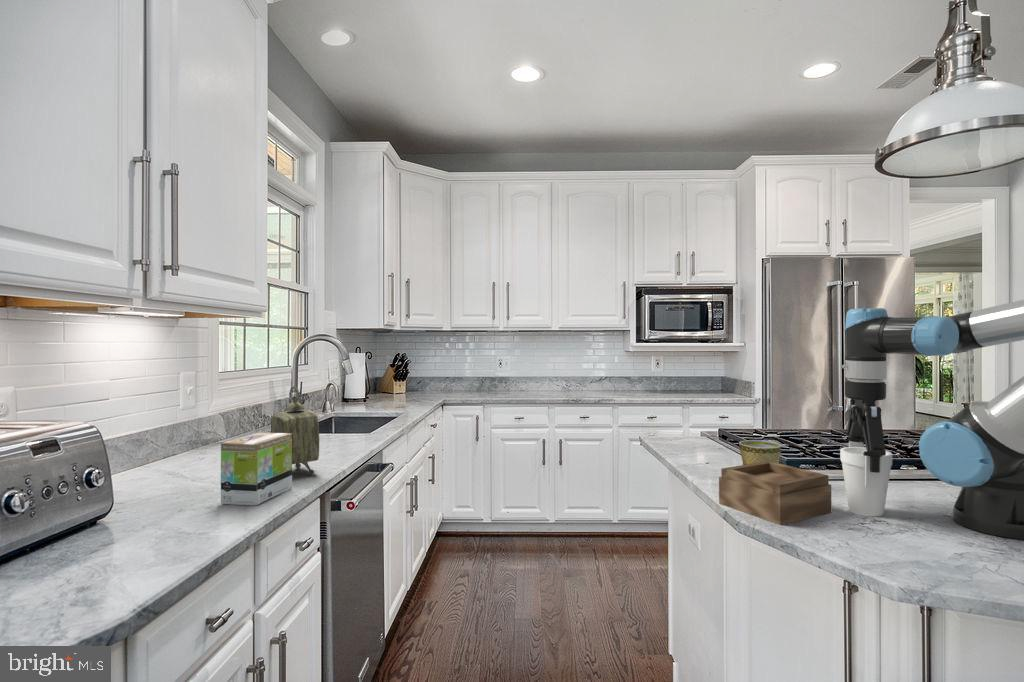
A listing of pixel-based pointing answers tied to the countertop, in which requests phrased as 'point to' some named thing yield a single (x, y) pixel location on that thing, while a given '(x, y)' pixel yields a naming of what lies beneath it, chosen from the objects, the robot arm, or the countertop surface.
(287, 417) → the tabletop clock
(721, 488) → the wooden box
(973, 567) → the countertop surface
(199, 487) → the countertop surface
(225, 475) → the tea box
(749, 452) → the ceramic cup
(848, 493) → the foam cup
